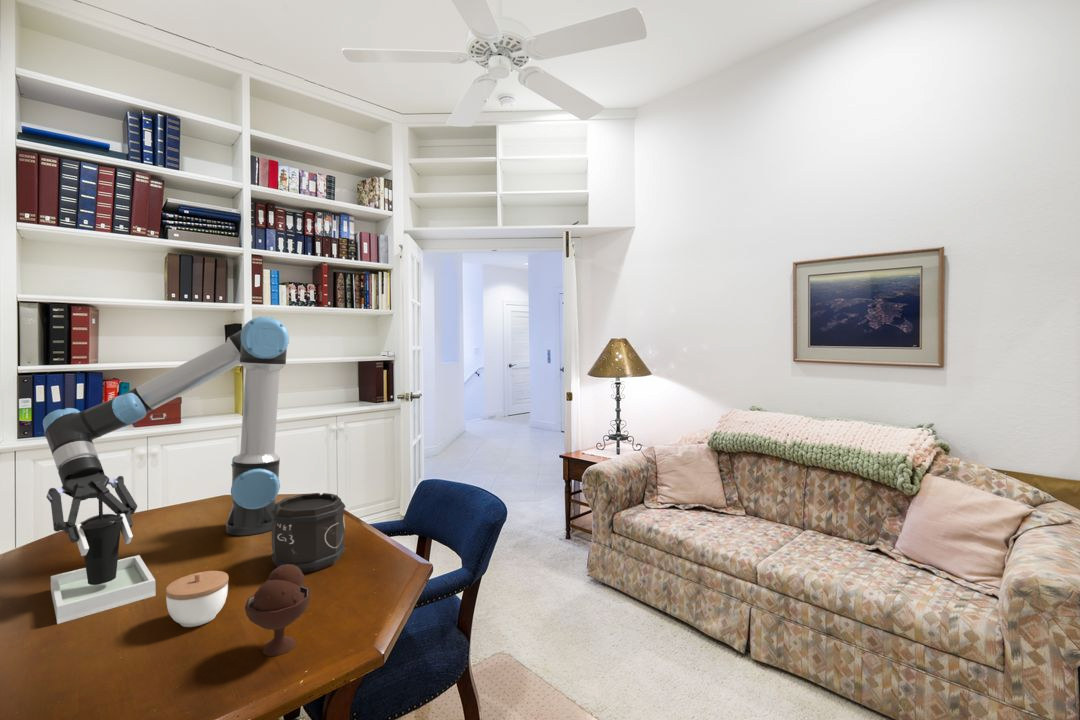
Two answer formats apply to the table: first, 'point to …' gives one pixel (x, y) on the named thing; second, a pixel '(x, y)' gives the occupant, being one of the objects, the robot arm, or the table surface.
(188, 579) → the lidded jar
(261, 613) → the ice cream bowl
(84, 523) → the drinking cup
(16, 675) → the table surface
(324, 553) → the labeled octagonal canister
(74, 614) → the tray
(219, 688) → the table surface
